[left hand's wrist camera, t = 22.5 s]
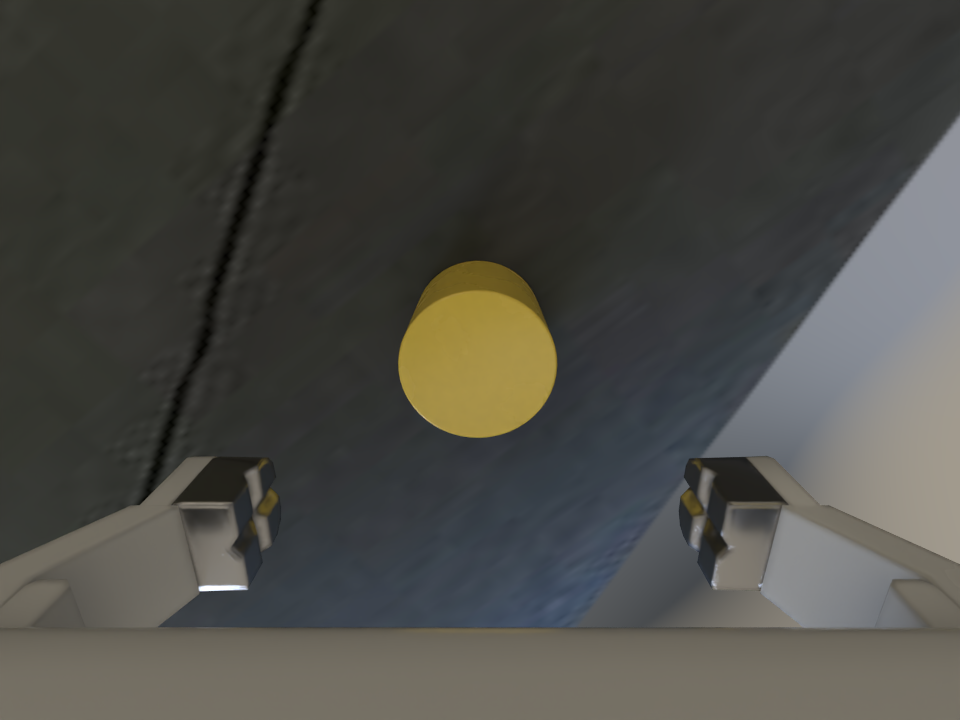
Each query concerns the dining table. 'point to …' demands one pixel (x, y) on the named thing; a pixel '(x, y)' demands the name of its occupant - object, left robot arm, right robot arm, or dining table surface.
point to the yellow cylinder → (477, 352)
